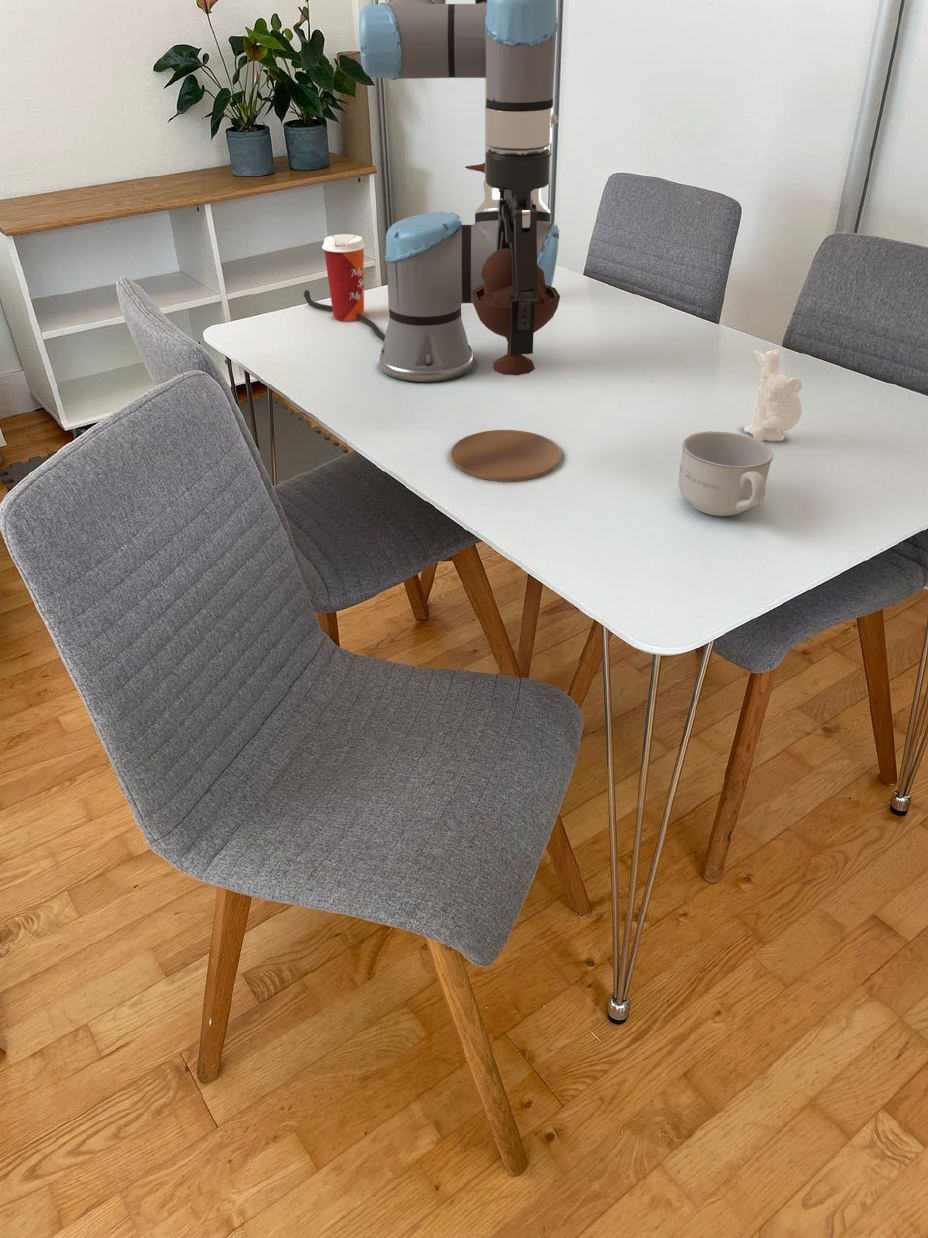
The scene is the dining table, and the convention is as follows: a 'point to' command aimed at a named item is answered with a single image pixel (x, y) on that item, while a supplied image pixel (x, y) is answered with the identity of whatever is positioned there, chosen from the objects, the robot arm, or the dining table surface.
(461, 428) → the dining table surface
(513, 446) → the brown round coaster
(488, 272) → the ice cream bowl
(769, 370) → the koala figurine
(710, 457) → the teacup
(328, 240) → the paper cup
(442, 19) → the robot arm
